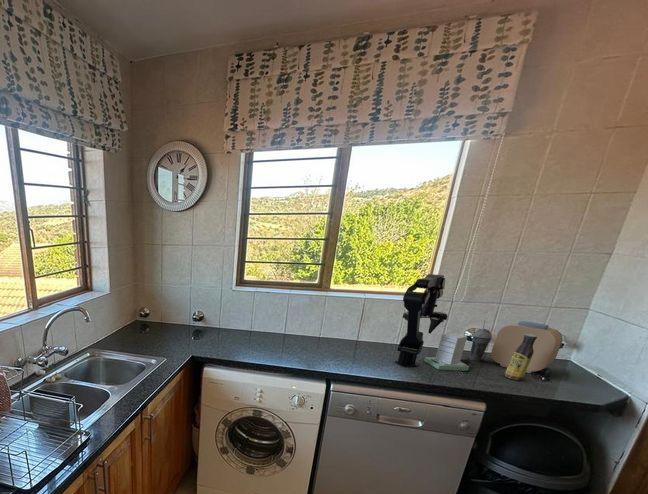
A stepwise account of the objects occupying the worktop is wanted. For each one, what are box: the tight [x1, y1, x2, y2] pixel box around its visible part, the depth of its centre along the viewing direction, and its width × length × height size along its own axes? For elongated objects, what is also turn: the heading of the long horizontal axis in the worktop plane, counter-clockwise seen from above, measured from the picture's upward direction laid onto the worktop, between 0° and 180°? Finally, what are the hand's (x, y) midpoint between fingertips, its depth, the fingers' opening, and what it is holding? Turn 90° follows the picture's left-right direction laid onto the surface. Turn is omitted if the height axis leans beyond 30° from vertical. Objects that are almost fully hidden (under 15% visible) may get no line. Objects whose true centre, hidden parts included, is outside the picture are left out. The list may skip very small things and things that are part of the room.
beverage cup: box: [469, 319, 493, 362], centre depth 196 cm, size 7×7×20 cm
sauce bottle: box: [504, 334, 537, 381], centre depth 173 cm, size 7×6×20 cm
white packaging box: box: [435, 332, 468, 364], centre depth 188 cm, size 7×7×13 cm
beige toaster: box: [490, 320, 563, 374], centre depth 185 cm, size 21×10×22 cm, turn 32°
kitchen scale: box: [424, 356, 470, 372], centre depth 191 cm, size 13×12×2 cm
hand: (420, 333), depth 196 cm, fingers open, 9 cm apart
